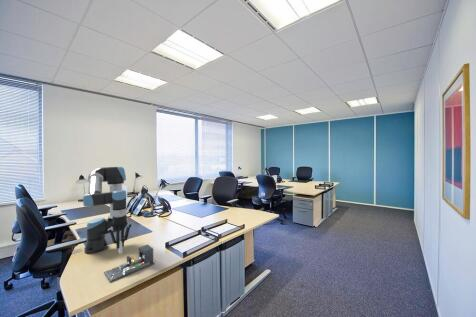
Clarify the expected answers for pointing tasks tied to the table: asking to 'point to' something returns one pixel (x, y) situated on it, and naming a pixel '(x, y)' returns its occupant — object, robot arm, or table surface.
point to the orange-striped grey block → (134, 260)
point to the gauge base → (126, 269)
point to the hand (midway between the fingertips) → (120, 252)
